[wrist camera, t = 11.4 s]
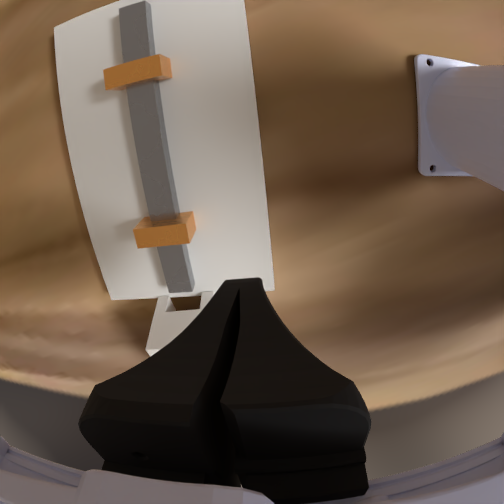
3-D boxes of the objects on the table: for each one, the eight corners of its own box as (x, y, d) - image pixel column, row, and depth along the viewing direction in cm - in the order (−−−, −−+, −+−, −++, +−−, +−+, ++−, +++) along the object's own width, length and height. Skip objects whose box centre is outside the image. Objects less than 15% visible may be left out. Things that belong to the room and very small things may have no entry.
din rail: (164, 1, 13) (153, -9, 11) (206, 282, 21) (202, 300, 19) (113, 16, 13) (98, 9, 12) (161, 285, 21) (153, 302, 19)
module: (213, 291, 21) (207, 348, 18) (231, 342, 25) (230, 393, 21) (158, 296, 22) (145, 351, 18) (184, 345, 25) (177, 394, 22)
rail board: (241, -20, 13) (240, -27, 12) (274, 280, 22) (274, 290, 21) (63, 29, 14) (54, 27, 13) (117, 291, 23) (111, 299, 22)
